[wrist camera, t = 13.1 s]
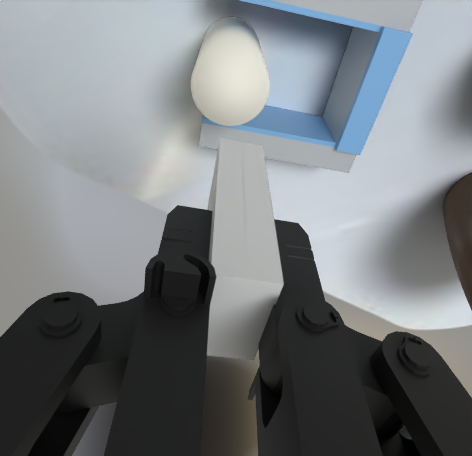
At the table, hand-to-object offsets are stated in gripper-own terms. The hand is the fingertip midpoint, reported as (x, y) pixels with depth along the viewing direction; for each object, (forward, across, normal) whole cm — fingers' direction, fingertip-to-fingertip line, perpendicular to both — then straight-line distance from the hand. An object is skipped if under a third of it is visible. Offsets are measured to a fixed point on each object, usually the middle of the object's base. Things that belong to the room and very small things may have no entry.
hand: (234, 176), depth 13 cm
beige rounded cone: (+22, 0, 0) cm, 22 cm away
